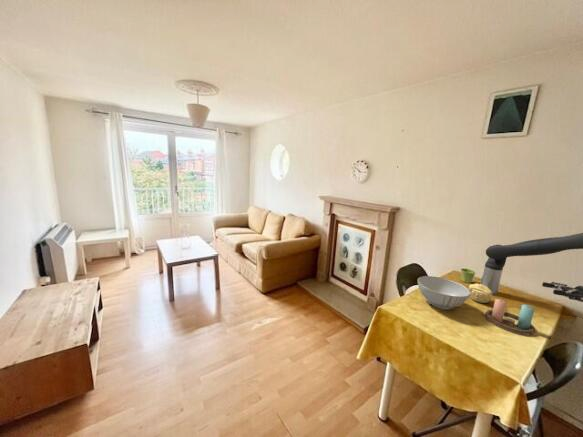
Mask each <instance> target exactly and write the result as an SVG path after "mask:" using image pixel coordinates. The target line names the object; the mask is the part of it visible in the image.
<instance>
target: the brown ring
mask: <svg viewBox="0 0 583 437" xmlns="http://www.w3.org/2000/svg"><path fill="white" fill-rule="evenodd" d="M492 312H493V309H487V310H486V311H485V314H484V317H485V318H486V320H487V321H488V322H489V323H491V324H492V325H494V326H495V327H497V328H500V329H501V330H504V331H507V332H509V333H513V334H518V335H521V336H532V335H533V334H534V332H535V329H536V327H535V326H534V325H533V323H531V325H530V329H529V330H521V329H519V328H515V327H514V325H515V324H516V323H515V322H516V321H518V319H519V315H516V314H514V313H511V312H508V311H505V313H504V317H503V321H502V324H501V323H499V322H497V321H496V320H494V319H492V318H491V317H492V316H490V315H492ZM503 323H504V324H503Z"/></svg>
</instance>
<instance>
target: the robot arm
mask: <svg viewBox="0 0 583 437" xmlns="http://www.w3.org/2000/svg"><path fill="white" fill-rule="evenodd" d="M569 250H583V232H581V233H576V234H575V233H574V234H570V235H567V236H565V235H564V236H555V237H547V238H546V237H545V238H537V239H536V238H535V239H531V240H525V241H521V242H517V243H513V244H507V245H505V244H504V245H502V244H494V245H490V246H488V247H487V248H486V249H485V254H486V256H487V257H488V258H487V260H486V262H485V264H484V267H483V273H482V276H481V278H480V282H479V284H482V285H484V286H487V287H488V288H489V289H490V290H491V291H492V295H498V293H499V289H500V288H499V287H500V282H501V278H502V274H503V270H504V267H505V265H506V261H507V258H510V257H531V256H542V255H543V256H545V255H551V254H552V255H553V254H555V253H560V252H564V251H569ZM541 286H542V287H543V288H548V289H553V291H552V293H553V294H554V295H557V296H561V297H565V298H568V299H569V300H573V301H578V302H581V303H583V285H577V286H575V287H573V286H568V284H564V283H561V282H560V283H559V282H554V281H551V282H546V281H545V282H542V284H541Z"/></svg>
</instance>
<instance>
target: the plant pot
mask: <svg viewBox="0 0 583 437" xmlns="http://www.w3.org/2000/svg"><path fill="white" fill-rule="evenodd" d="M460 273H461V274H460V276H461V278H460V280H462V281H461V282H463V283H465V282H467V283H466V284H472V281H473V279H474V277H475V275H476V273H477V272H476V271H475V270H472V269H469V268H464V267H463V268H460Z"/></svg>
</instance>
